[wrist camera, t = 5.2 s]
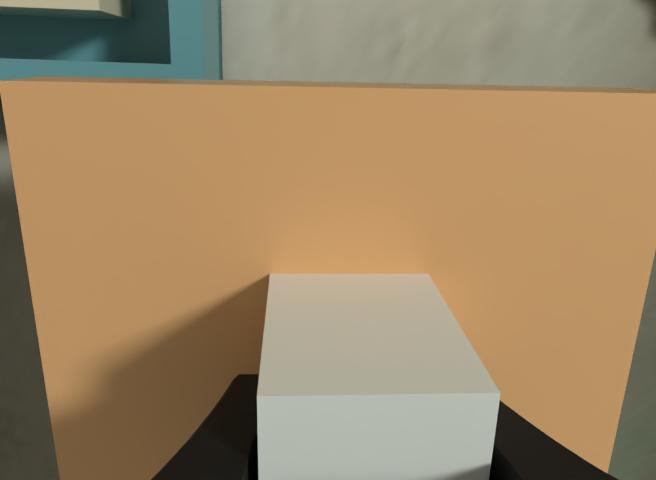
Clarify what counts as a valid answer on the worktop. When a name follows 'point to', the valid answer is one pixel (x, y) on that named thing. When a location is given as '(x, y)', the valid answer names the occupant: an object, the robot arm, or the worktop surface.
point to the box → (111, 39)
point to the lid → (332, 266)
